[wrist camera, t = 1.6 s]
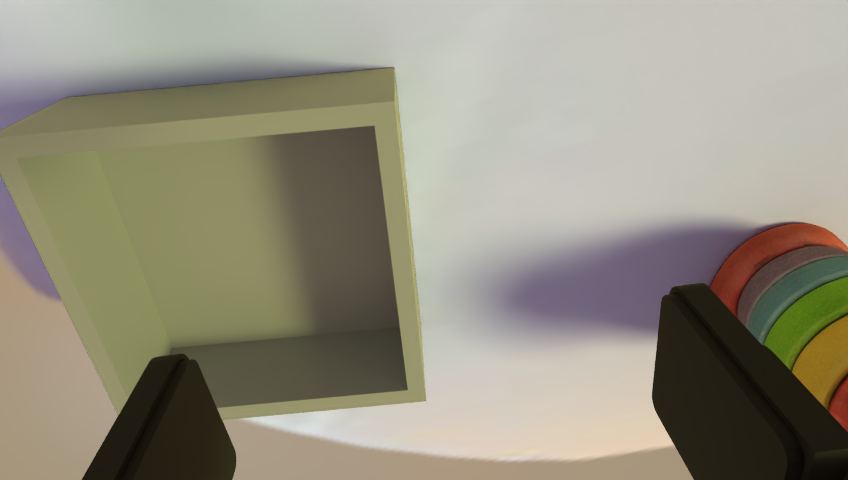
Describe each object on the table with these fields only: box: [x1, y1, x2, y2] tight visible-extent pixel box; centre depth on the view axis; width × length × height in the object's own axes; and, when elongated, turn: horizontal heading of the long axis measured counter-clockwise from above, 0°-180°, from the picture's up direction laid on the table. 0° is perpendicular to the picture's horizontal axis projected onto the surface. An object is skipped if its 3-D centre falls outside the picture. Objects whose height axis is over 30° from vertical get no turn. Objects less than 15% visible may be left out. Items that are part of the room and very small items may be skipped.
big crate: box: [0, 68, 426, 420], centre depth 31 cm, size 18×18×7 cm
